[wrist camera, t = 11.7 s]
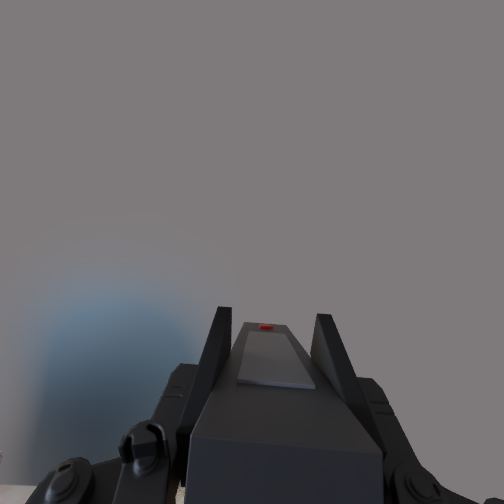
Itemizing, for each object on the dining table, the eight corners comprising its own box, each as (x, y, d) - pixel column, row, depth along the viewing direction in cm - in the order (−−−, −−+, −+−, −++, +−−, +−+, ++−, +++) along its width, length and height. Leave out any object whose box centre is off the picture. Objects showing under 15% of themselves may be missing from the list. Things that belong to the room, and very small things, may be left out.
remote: (386, 586, 5) (383, 441, 6) (177, 562, 5) (191, 423, 6) (285, 350, 26) (286, 322, 26) (242, 346, 26) (244, 319, 27)
